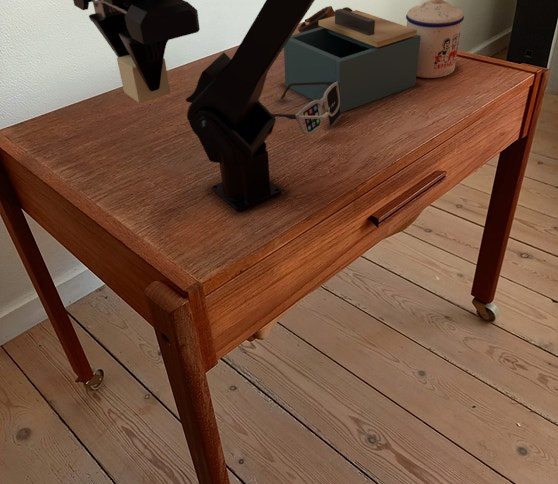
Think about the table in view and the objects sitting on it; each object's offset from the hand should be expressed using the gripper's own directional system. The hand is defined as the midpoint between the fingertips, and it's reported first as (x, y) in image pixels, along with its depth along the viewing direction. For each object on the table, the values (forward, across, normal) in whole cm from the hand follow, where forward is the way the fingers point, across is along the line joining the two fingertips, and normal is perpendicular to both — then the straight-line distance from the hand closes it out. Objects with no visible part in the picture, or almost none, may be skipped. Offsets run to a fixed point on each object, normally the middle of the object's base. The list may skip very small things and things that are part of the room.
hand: (146, 84), depth 67 cm
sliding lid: (+5, +7, -41) cm, 42 cm away
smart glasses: (+11, +1, -24) cm, 26 cm away
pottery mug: (+13, +23, -47) cm, 54 cm away
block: (+1, 0, 0) cm, 1 cm away
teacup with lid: (+13, +4, -54) cm, 56 cm away
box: (+13, +7, -38) cm, 41 cm away
